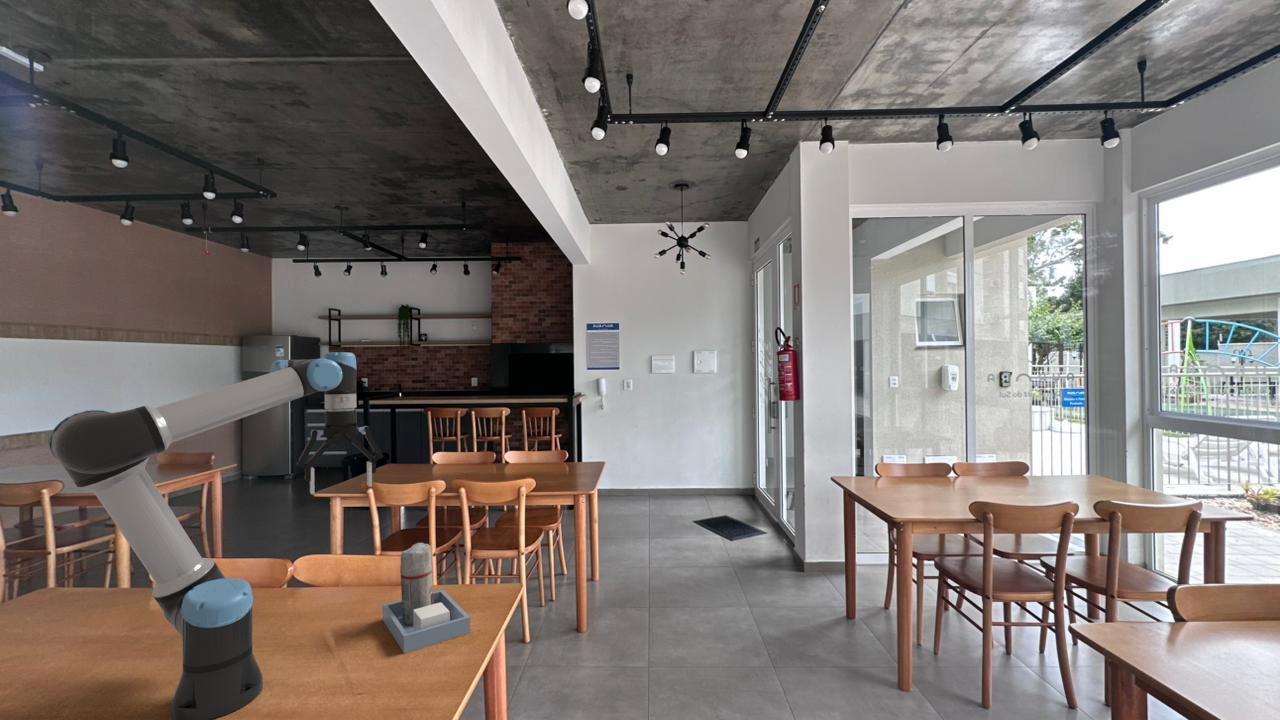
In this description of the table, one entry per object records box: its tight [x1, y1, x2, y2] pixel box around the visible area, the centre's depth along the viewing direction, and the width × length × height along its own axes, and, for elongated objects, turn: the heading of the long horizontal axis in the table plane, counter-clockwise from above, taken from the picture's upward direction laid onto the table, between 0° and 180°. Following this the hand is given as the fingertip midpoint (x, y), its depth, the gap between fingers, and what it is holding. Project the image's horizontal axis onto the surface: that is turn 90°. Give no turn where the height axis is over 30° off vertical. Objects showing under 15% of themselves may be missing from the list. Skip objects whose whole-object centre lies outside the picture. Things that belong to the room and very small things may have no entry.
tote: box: [382, 589, 471, 654], centre depth 144 cm, size 16×22×5 cm
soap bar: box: [413, 602, 450, 632], centre depth 140 cm, size 7×7×6 cm
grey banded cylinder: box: [399, 542, 434, 626], centre depth 148 cm, size 8×8×20 cm
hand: (341, 489), depth 147 cm, fingers open, 13 cm apart
